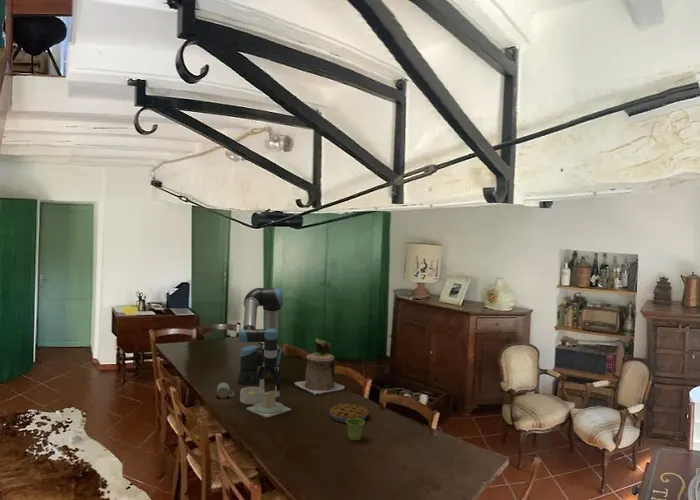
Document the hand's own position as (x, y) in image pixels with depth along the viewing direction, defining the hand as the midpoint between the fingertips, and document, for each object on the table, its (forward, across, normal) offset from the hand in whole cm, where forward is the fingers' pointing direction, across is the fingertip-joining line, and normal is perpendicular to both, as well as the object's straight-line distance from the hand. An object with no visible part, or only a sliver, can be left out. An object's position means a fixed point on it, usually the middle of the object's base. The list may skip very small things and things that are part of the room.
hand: (269, 393), depth 310 cm
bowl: (+10, -19, +3) cm, 21 cm away
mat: (+9, 0, 0) cm, 9 cm away
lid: (+9, 0, 0) cm, 9 cm away
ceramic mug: (+10, -35, -5) cm, 37 cm away
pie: (+10, +38, +26) cm, 47 cm away
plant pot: (+9, +60, +6) cm, 61 cm away
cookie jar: (+10, -10, +51) cm, 53 cm away
